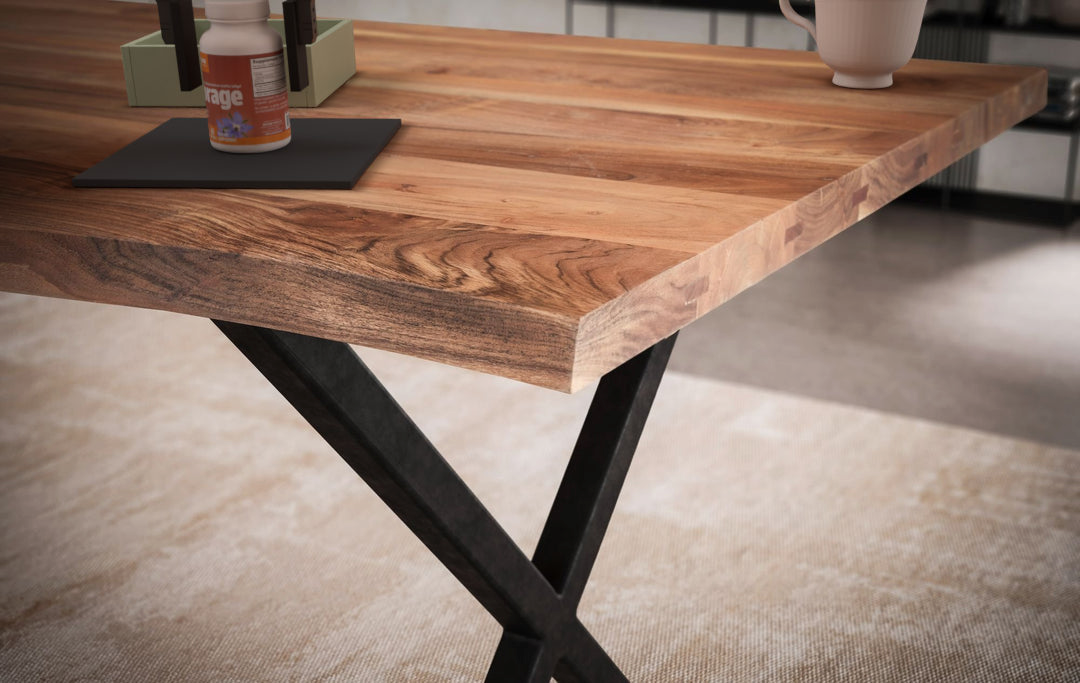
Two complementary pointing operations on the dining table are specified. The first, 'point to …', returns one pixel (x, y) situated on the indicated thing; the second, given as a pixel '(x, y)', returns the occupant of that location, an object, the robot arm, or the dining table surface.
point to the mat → (246, 157)
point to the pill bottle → (244, 78)
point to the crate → (158, 77)
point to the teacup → (863, 37)
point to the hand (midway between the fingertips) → (245, 87)
